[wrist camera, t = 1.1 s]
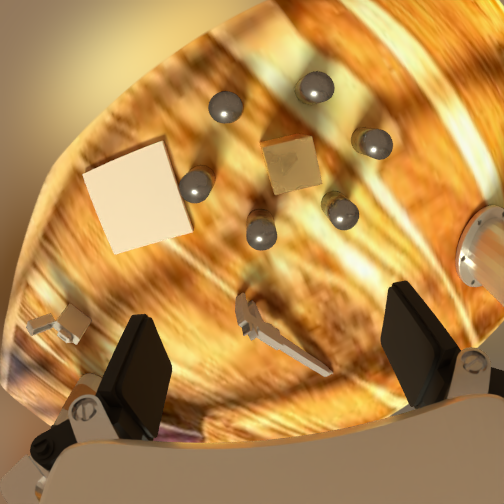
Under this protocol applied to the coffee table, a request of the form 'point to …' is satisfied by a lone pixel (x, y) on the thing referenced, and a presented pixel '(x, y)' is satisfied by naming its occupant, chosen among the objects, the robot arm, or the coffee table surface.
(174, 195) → the coaster
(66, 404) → the coffee cup
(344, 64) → the coffee table surface
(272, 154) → the tan rectangular block
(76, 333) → the lighter
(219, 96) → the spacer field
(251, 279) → the coffee table surface
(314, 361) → the caliper
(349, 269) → the coffee table surface
